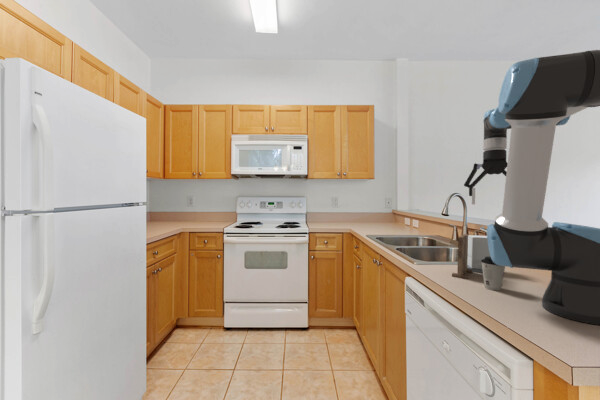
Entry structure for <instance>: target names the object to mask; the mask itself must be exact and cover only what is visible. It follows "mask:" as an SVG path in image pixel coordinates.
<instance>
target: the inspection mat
mask: <svg viewBox="0 0 600 400" xmlns="http://www.w3.org/2000/svg"><path fill="white" fill-rule="evenodd" d="M467 269H470V270H473V273H479V274H483V269H475V268H471V267H470V266H468V265H467Z"/></svg>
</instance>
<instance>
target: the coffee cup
mask: <svg viewBox="0 0 600 400" xmlns="http://www.w3.org/2000/svg"><path fill="white" fill-rule="evenodd" d="M481 262H482V269H483V273H482V277H483V285H484V286H483V287H484V288H485V289H486V290H491V291H497V292H498V291H501V290H502V286H503V280H504V274H505V269H506V266H499V265H496V264H495V263H494V262H493V261H492V259H491V257H485V259H482V260H481Z"/></svg>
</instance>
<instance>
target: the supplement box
mask: <svg viewBox="0 0 600 400" xmlns="http://www.w3.org/2000/svg"><path fill="white" fill-rule="evenodd" d="M485 257H491V256H490V252H489V247H488V240H487V235H475V234H474V235H472V234H471V235H470V234H468V259H467V265H468V266H470V267H471V268H475V269H482V262H481V260H482V259H485Z"/></svg>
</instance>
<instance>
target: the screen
mask: <svg viewBox="0 0 600 400" xmlns="http://www.w3.org/2000/svg"><path fill="white" fill-rule="evenodd" d="M468 235H469V234H468V233H463V234H462V235H459V236H458V239H457V272H456V273H455V272H452V274H451V277H455V278H459V279H466V280H468V277H469V275H468V274H473V273H474V272H473V270H470V269H467V259H468ZM466 273H468V274H466Z"/></svg>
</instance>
